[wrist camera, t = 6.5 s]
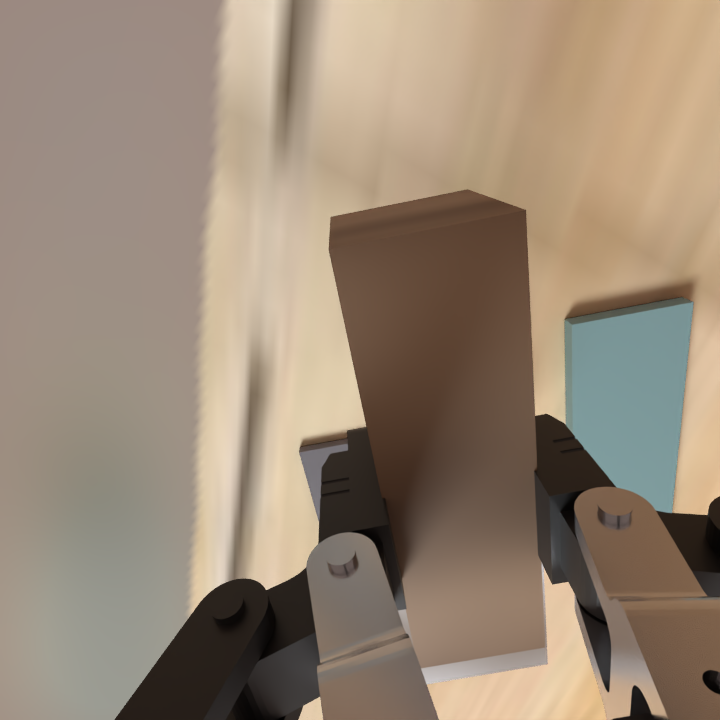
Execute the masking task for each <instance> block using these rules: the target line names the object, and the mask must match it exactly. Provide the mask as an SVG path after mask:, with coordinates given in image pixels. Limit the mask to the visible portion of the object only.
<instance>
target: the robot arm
mask: <svg viewBox="0 0 720 720" xmlns="http://www.w3.org/2000/svg"><path fill="white" fill-rule="evenodd" d="M535 428H536V450H537V470H536V471H534V479H535V500H536V521H537V542H538V556H539V558H540V560H541V562H542V564H543V566H544V568H545V570H546V573H547V575H548V577H549V579H550V581H551V583H552V584H558V583H563V582H569V584H570V586H571V587H572V589H573V591H574V593H575V612H576V615H577V619H578V622H579V625H580V629H581V632H582V635H583V638H584V642H585V645H586V648H587V652H588V655H589V658H590V661H591V665H592V668H593V671H594V675H595V678H596V681H597V684H598V688H599V691H600V694H601V697H602V701H603V705H604V709H605V713H606V718H607V720H720V497H718V498H716V499H714V500H713V501H712V502H711V504H710V506H709V510H708V515H695V514H679V513H667V512H661V511H656V510H655V509H654V507H653V506H652V505H651V504H650V503H649V502H648V501H647V500H646V499H644V498H643V497H641V496H640V495H638V494H636V493H634V492H631V491H629V490H625V489H621V488H617V487H616V486H615V485H614V484H613V482H612V481H611V480H610V479H609V477H608V476H607V475H606V474H605V473H604V471H603V470H602V469H601V468H600V466H599V465H598V464H597V463H596V462H595V460H594V459H593V458H592V457H591V455H590V454H589V453H588V452H587V450H584V447H583V446H582V444H581V443H580V442H579V441H578V439H575V436H574V435H573V433H572V432H571V431H570V430H569V428H568V427H567V426H566V425H565V424H564V423H563V422H561V421H559V420H557V419H555V418H554V417H552V416H550V415H548V414H544V415H538V416H535ZM347 438H348V450H347V451H342V452H336V453H331V454H330V455H329V456H328V458H327V460H326V461H325V463H324V465H323V466H322V470H321V498H320V518H319V543H318V545H317V546H316V547H315V548H314V549H313V551H312V552H311V554H310V556H309V558H308V561H307V567H306V568H305V569H304V570H303V571H302V572H301V573H299V574H298V575H296V576H295V577H293V578H291V579H289V580H288V581H285V582H283V583H281V584H279V585H277V586H275V587H273V588H270V589H268V590H265V588H264V586H263V585H261V584H260V583H259V582H257V581H255V580H252V579H236V580H232V581H229V582H226V583H224V584H222V585H220V586H218V587H217V588H215V589H214V590H212V591H211V592H210V593H209V594H208V595H207V596H206V597H205V598H204V599H203V600H202V601H201V602H200V603H199V605H198V606H197V608H196V609H195V610H194V612H193V613H192V614H191V616H190V617H189V619H188V620H187V621H186V623H185V624H184V625H183V627H182V628H181V629H180V631H179V632H178V634H177V635H176V636H175V638H174V639H173V641H172V642H171V643H170V645H169V646H168V647H167V649H166V650H165V651H164V653H163V654H162V655H161V657H160V658H159V660H158V661H157V663H156V664H155V665H154V667H153V668H152V669H151V671H150V672H149V673H148V675H147V676H146V678H145V679H144V680H143V682H142V683H141V684H140V686H139V687H138V688H137V690H136V691H135V693H134V694H133V695H132V697H131V698H130V699H129V701H128V702H127V703H126V705H125V706H124V708H123V709H122V710H121V712H120V713H119V714H118V716H117V717H116V718H115V720H298V719H299V716H300V714H301V711H302V708H303V705H305V704H307V703H309V702H311V701H313V700H314V699H316V698H318V697H320V698H321V706H322V713H323V720H439V719H438V716H437V713H436V710H435V707H434V705H433V702H432V699H431V696H430V693H429V690H428V687H427V684H426V681H425V679H424V676H423V673H422V670H421V667H420V664H419V661H418V658H417V656H416V653H415V650H414V647H413V644H412V642H411V639H410V637H409V635H408V634H406V632H405V630H404V627H403V624H402V621H401V618H400V615H399V612H398V610H404V609H407V608H406V601H405V595H404V588H403V582H402V576H401V571H400V567H399V562H398V557H397V552H396V548H395V543H394V538H393V533H392V529H391V524H390V519H389V514H388V510H387V505H386V500H385V498H382V496H381V492H380V487H379V482H378V478H377V473H376V468H375V464H374V459H373V454H372V450H371V445H370V440H369V436H368V431H367V427H363V428H358V429H353V430H348V431H347Z"/></svg>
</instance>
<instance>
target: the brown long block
mask: <svg viewBox="0 0 720 720" xmlns="http://www.w3.org/2000/svg"><path fill="white" fill-rule="evenodd" d="M329 253H330V258H331V262H332V267H333V272H334V276H335V281H336V286H337V290H338V295H339V300H340V304H341V309H342V314H343V318H344V323H345V328H346V333H347V337H348V342H349V347H350V351H351V356H352V361H353V365H354V370H355V375H356V379H357V384H358V389H359V393H360V398H361V403H362V407H363V412H364V417H365V421H366V426H367V431H368V436H369V440H370V445H371V450H372V454H373V459H374V464H375V468H376V473H377V478H378V482H379V487H380V492H381V496H382V498H385V500H386V505H387V510H388V514H389V519H390V524H391V529H392V533H393V538H394V543H395V548H396V552H397V557H398V562H399V567H400V571H401V576H402V582H403V588H404V595H405V601H406V608H407V609H404V610H398V612H399V615H400V618H401V621H402V624H403V627H404V630H405V632H406V634H408V635H409V637H410V639H411V642H412V644H413V647H414V650H415V653H416V656H417V658H418V661H419V664H420V667H421V670H422V673H423V676H424V679H425V681H426V684H432V683H438V682H444V681H450V680H456V679H462V678H468V677H474V676H480V675H486V674H492V673H498V672H504V671H509V670H515V669H521V668H527V667H533V666H539V665H545V664H548V662H547V638H546V614H545V591H544V567H543V564H542V562H541V560H540V558H539V556H538V542H537V521H536V500H535V479H534V471H536V470H537V450H536V428H535V405H534V383H533V360H532V338H531V315H530V292H529V270H528V247H527V225H526V210H524V209H521V208H518V207H516V206H513V205H510V204H507V203H504V202H501V201H499V200H496V199H493V198H490V197H487V196H485V195H482V194H479V193H476V192H473V191H470V190H463V191H458V192H453V193H448V194H443V195H438V196H433V197H428V198H423V199H418V200H413V201H408V202H403V203H398V204H393V205H388V206H383V207H378V208H373V209H368V210H363V211H358V212H353V213H348V214H343V215H338V216H333V217H331V221H330V237H329Z"/></svg>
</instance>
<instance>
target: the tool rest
mask: <svg viewBox="0 0 720 720" xmlns="http://www.w3.org/2000/svg"><path fill="white" fill-rule="evenodd" d="M692 312H693V302H692V301H690V300H688V299H686V298H683V297H680V298H674V299H669V300H664V301H659V302H653V303H648V304H643V305H637V306H632V307H627V308H621V309H616V310H611V311H606V312H600V313H595V314H590V315H584V316H579V317H574V318H568V319H565V387H566V426H567V427H568V428H569V430H570V431H571V432H572V433H573V435H574V436H575V439H578V441H579V442H580V443H581V444H582V446H583V447H584V450H587V452H588V453H589V454H590V455H591V457H592V458H593V459H594V460H595V462H596V463H597V464H598V465H599V466H600V468H601V469H602V470H603V471H604V473H605V474H606V475H607V476H608V477H609V479H610V480H611V481H612V482H613V484H614V485H615V486H616V487H617V488H621V489H625V490H629V491H631V492H634V493H636V494H638V495H640V496H641V497H643V498H644V499H646V500H647V501H648V502H649V503H650V504H651V505H652V506H653V507H654V509H655V510H656V511H661V512H667V513H672V507H673V497H674V487H675V477H676V468H677V458H678V448H679V439H680V429H681V419H682V409H683V400H684V390H685V380H686V370H687V361H688V351H689V341H690V331H691V322H692Z"/></svg>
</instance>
